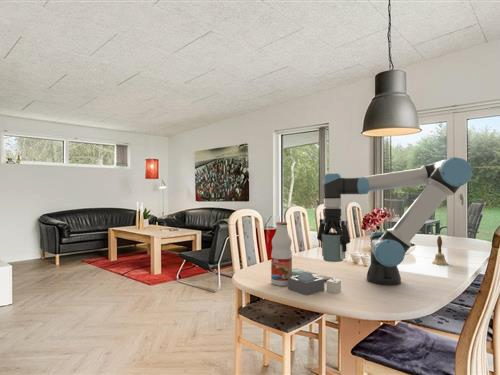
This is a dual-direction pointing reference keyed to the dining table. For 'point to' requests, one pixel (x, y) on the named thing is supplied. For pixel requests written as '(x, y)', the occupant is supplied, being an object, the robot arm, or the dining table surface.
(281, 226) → the fruit juice
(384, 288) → the dining table surface
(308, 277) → the blue-grey ball
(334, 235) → the teal and white cup
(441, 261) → the hand bell
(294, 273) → the track board
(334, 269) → the dining table surface
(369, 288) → the dining table surface
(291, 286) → the collar
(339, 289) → the die
